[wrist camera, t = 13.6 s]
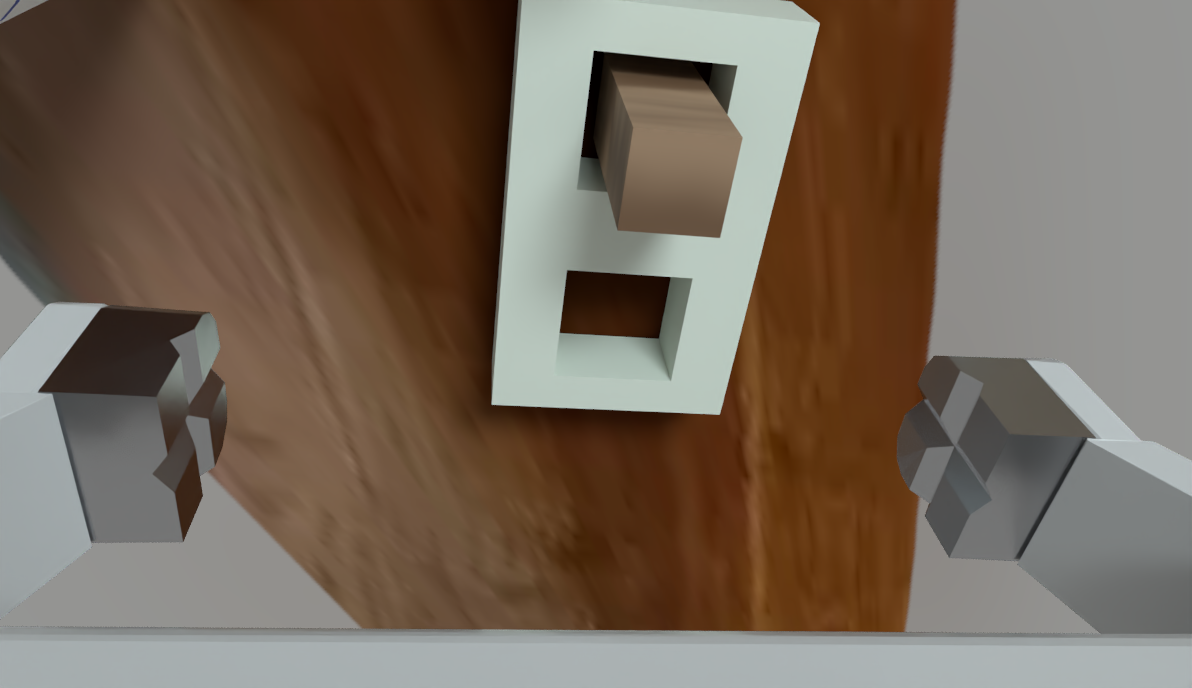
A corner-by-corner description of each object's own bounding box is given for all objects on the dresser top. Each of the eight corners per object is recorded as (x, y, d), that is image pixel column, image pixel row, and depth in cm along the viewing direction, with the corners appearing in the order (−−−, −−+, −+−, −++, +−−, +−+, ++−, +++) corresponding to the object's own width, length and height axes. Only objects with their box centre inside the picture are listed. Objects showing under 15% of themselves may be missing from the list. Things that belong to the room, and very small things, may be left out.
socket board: (520, -31, 36) (522, -11, 33) (791, 1, 38) (819, 23, 35) (492, 360, 47) (491, 404, 44) (704, 371, 49) (719, 414, 45)
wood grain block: (604, 51, 39) (633, 127, 30) (690, 61, 39) (742, 137, 31) (593, 137, 41) (617, 230, 32) (675, 145, 41) (720, 238, 33)
